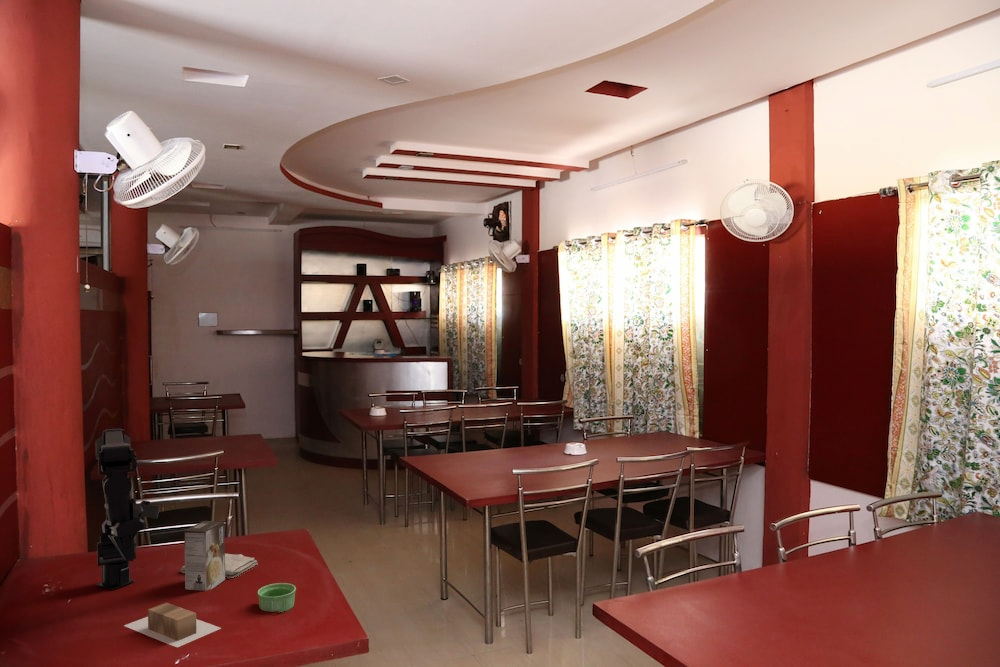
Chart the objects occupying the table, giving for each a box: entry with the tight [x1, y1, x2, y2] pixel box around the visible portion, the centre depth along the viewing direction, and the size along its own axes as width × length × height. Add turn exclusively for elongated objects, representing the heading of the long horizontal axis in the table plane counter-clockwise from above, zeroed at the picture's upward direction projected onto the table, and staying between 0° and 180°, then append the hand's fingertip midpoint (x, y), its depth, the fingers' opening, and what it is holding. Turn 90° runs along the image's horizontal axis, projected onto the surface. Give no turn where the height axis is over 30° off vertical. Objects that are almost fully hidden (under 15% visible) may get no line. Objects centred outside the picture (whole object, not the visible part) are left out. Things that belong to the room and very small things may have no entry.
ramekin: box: [257, 582, 297, 614], centre depth 173 cm, size 9×9×4 cm
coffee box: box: [183, 520, 226, 592], centre depth 186 cm, size 9×6×16 cm
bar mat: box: [123, 616, 222, 648], centre depth 160 cm, size 20×11×1 cm, turn 58°
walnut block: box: [147, 602, 197, 641], centre depth 158 cm, size 4×4×11 cm
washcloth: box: [180, 553, 259, 579], centre depth 199 cm, size 12×18×3 cm, turn 76°
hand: (128, 560), depth 172 cm, fingers closed
